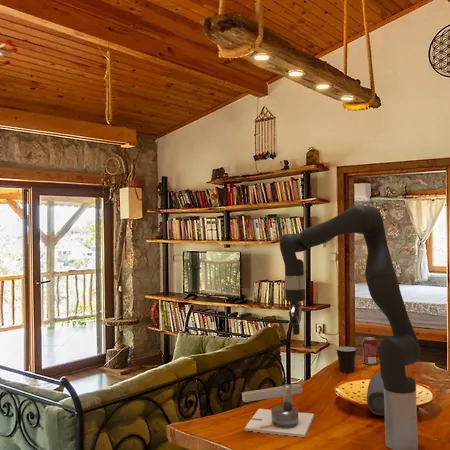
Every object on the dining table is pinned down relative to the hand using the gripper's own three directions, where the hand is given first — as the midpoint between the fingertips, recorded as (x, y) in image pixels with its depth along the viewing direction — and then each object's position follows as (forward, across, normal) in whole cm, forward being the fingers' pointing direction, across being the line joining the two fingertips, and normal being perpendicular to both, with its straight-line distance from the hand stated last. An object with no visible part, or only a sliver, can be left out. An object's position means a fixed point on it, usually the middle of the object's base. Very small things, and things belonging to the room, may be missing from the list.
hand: (296, 334), depth 187 cm
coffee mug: (+27, +48, -12) cm, 56 cm away
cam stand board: (+27, -17, +3) cm, 32 cm away
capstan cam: (+25, -21, +4) cm, 34 cm away
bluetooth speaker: (+27, +7, -29) cm, 40 cm away
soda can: (+27, +64, -22) cm, 73 cm away
